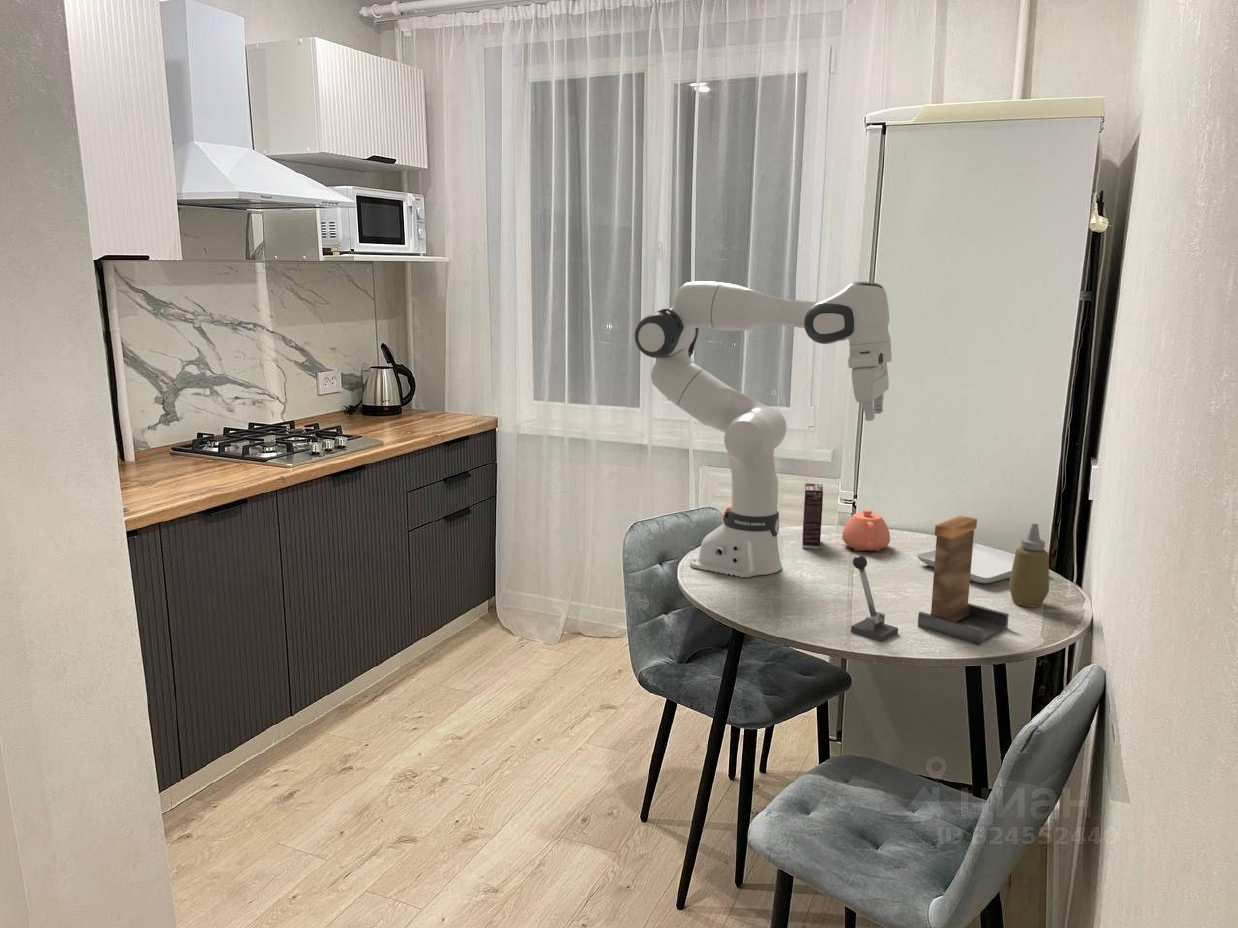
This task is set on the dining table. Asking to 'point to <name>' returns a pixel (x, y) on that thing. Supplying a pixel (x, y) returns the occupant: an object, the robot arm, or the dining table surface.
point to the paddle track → (968, 624)
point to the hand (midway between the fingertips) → (874, 416)
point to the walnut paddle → (953, 568)
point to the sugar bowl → (866, 532)
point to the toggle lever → (866, 587)
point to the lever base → (874, 629)
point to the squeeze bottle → (1030, 571)
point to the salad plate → (982, 563)
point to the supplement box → (812, 516)
